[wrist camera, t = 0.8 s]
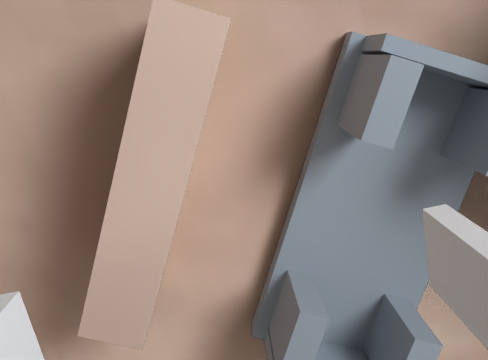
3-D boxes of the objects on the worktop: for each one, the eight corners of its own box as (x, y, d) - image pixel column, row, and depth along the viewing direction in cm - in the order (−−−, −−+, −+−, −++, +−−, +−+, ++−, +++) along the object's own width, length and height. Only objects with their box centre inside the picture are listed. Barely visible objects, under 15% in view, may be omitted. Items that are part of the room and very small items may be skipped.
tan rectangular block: (111, 269, 37) (77, 336, 28) (172, 11, 32) (154, -6, 23) (161, 281, 37) (142, 350, 28) (229, 28, 32) (231, 18, 24)
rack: (250, 326, 38) (257, 389, 31) (346, 32, 32) (382, 26, 25) (385, 356, 40) (422, 424, 32) (500, 80, 34) (576, 87, 27)
